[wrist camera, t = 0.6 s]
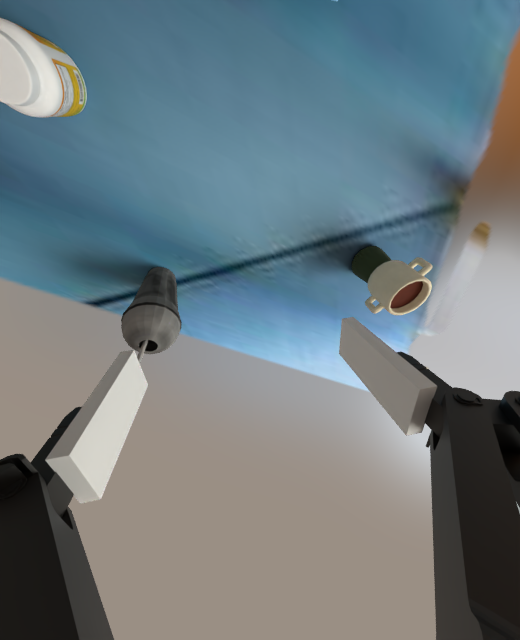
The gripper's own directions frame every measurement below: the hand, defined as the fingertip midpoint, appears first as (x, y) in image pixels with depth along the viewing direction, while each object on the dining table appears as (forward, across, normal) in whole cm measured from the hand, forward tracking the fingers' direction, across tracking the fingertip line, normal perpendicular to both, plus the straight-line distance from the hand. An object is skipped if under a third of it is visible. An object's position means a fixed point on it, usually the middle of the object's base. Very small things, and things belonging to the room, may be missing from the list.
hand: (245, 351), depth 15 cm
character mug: (+30, +26, -3) cm, 40 cm away
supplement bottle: (+21, -15, +21) cm, 33 cm away
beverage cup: (+28, -12, -1) cm, 30 cm away
